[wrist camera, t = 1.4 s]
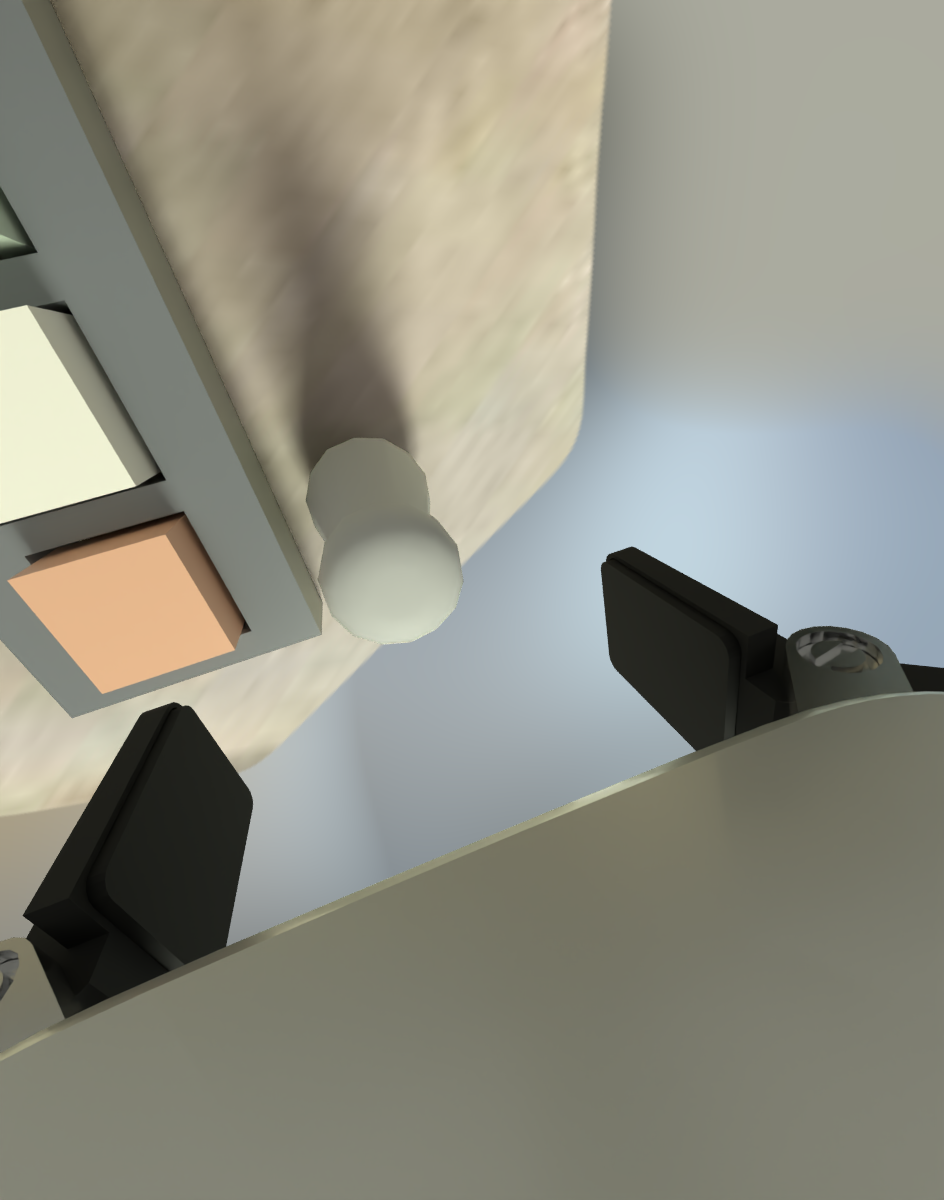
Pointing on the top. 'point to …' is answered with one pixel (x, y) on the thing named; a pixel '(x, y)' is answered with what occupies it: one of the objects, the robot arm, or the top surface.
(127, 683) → the key terracotta
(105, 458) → the key cream
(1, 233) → the key sage
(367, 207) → the top surface
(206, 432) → the keypad
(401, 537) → the salt shaker
